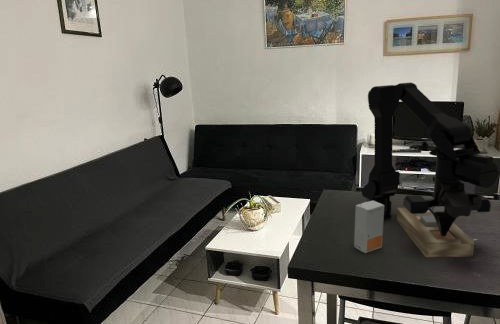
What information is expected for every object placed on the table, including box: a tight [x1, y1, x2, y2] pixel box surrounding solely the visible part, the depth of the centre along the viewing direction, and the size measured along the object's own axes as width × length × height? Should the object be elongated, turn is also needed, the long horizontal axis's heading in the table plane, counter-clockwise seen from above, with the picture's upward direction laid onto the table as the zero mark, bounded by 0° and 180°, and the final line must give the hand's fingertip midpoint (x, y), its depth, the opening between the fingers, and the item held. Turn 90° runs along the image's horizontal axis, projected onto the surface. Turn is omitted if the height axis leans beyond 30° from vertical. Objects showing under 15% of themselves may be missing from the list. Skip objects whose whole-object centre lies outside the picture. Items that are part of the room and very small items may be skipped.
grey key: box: [420, 215, 438, 227], centre depth 101 cm, size 4×4×2 cm
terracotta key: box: [431, 231, 456, 239], centre depth 95 cm, size 4×4×2 cm
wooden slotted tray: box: [396, 207, 475, 258], centre depth 102 cm, size 11×22×4 cm, turn 177°
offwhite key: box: [414, 210, 433, 216], centre depth 108 cm, size 4×4×2 cm
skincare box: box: [353, 201, 385, 254], centre depth 97 cm, size 6×4×12 cm
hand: (443, 235), depth 95 cm, fingers closed, pressing on terracotta key
